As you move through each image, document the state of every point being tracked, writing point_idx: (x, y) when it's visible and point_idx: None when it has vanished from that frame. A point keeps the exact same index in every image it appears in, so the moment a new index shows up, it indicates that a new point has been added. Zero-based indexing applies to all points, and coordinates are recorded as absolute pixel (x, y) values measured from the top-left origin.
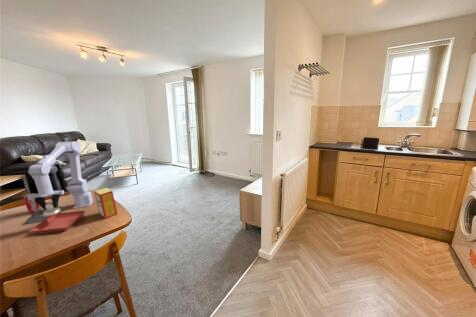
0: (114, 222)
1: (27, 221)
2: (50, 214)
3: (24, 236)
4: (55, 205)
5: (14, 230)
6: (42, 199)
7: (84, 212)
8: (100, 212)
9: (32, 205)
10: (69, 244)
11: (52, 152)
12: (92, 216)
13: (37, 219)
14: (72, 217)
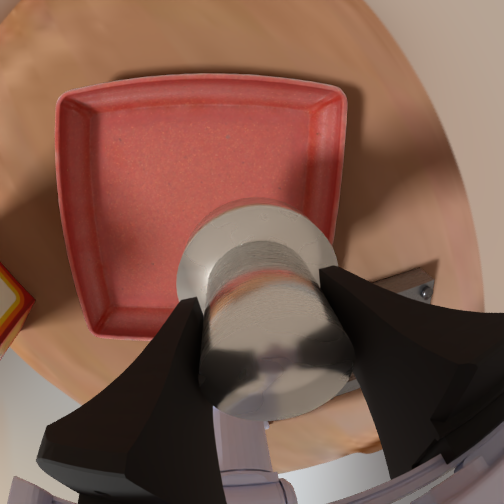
0: None
1: (427, 274)
2: (228, 210)
3: (361, 103)
4: (169, 321)
5: (445, 208)
6: (403, 418)
7: (89, 316)
8: (5, 291)
9: None
10: (24, 7)
11: None
12: (52, 283)
13: (389, 288)
14: (164, 290)
